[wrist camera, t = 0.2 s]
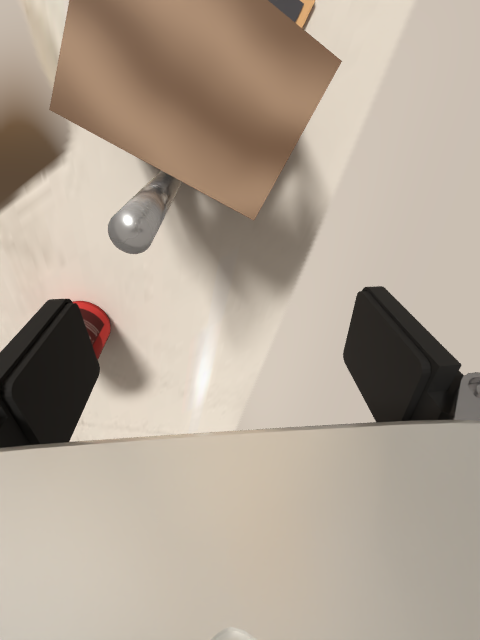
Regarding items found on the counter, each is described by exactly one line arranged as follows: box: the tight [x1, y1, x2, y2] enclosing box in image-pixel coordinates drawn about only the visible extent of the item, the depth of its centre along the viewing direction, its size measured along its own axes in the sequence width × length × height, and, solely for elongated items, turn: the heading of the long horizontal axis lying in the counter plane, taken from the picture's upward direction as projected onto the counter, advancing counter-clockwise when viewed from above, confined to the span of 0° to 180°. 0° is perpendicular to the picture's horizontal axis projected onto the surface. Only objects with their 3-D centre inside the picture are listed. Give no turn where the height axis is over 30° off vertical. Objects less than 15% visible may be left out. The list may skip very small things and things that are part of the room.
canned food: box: [73, 301, 110, 360], centre depth 41 cm, size 8×8×11 cm
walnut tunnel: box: [50, 0, 342, 220], centre depth 25 cm, size 11×14×16 cm
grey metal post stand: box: [108, 170, 182, 254], centre depth 23 cm, size 14×10×21 cm
